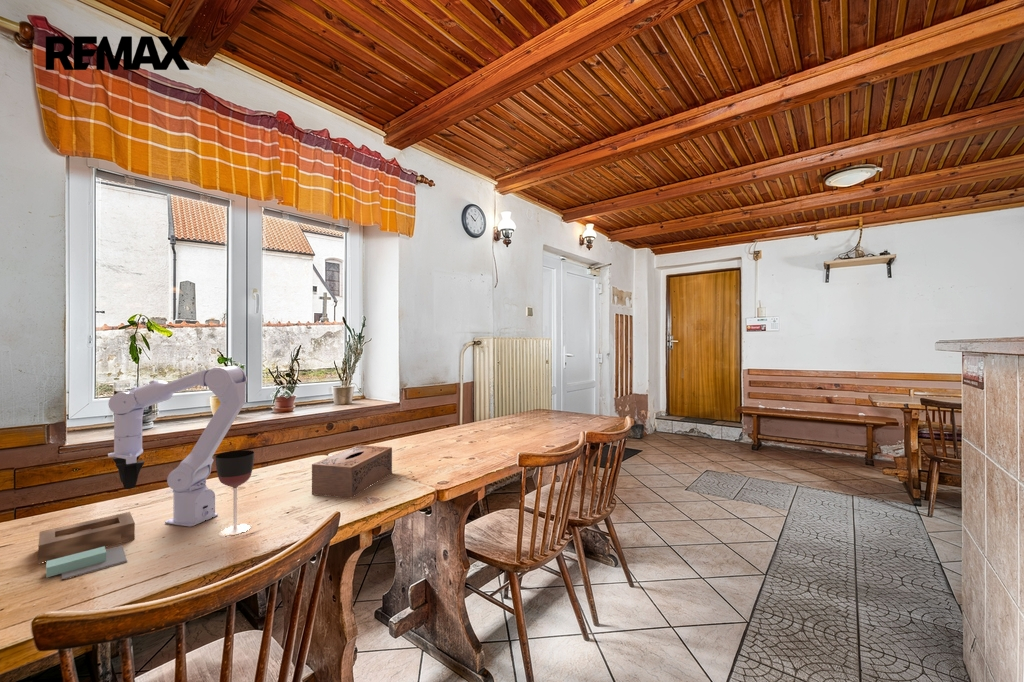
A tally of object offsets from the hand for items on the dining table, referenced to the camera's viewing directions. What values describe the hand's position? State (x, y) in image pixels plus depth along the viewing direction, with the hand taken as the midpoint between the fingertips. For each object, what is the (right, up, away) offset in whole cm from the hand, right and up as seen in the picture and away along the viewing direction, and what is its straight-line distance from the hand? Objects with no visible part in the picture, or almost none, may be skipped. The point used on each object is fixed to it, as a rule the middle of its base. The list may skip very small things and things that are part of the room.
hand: (128, 484), depth 115 cm
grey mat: (+11, -10, -20) cm, 26 cm away
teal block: (+9, -10, -23) cm, 26 cm away
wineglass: (+32, -11, -4) cm, 34 cm away
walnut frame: (+2, -10, -12) cm, 16 cm away
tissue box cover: (+50, -11, +33) cm, 61 cm away
